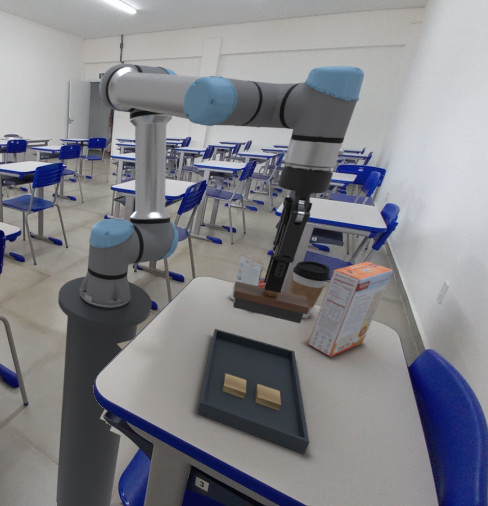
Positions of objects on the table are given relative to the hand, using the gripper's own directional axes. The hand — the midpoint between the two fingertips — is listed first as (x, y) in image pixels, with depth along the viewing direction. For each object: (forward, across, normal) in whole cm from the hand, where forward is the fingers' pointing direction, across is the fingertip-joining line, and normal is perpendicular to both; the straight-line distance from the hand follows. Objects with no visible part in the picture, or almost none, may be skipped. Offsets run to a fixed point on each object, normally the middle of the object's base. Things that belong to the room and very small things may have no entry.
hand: (271, 286), depth 70 cm
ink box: (+21, +32, +1) cm, 38 cm away
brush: (+6, 0, 0) cm, 6 cm away
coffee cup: (+21, +35, -13) cm, 43 cm away
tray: (+21, -5, 0) cm, 21 cm away
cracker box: (+21, +22, -20) cm, 36 cm away
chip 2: (+20, -9, -3) cm, 22 cm away
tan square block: (+20, -9, +3) cm, 22 cm away
